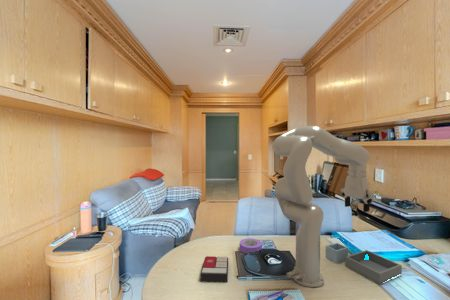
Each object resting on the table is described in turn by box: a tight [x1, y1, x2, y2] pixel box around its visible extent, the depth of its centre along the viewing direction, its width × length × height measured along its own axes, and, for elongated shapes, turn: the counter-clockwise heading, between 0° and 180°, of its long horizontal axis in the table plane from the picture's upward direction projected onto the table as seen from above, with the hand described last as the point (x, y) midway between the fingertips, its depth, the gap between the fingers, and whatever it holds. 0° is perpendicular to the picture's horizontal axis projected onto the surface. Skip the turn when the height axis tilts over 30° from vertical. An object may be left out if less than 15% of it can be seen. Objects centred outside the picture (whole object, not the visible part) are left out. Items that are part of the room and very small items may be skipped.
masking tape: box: [239, 237, 263, 254], centre depth 119 cm, size 12×12×4 cm
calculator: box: [200, 255, 229, 284], centre depth 98 cm, size 11×4×15 cm
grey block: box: [325, 243, 349, 264], centre depth 109 cm, size 8×6×6 cm
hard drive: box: [326, 237, 346, 247], centre depth 125 cm, size 2×8×12 cm
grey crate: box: [344, 249, 403, 286], centre depth 99 cm, size 15×15×4 cm
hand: (356, 208), depth 110 cm, fingers open, 9 cm apart
